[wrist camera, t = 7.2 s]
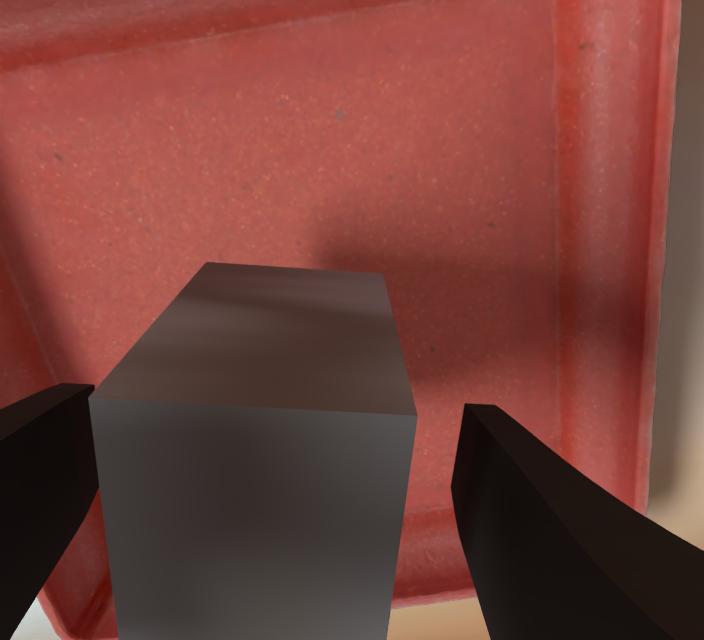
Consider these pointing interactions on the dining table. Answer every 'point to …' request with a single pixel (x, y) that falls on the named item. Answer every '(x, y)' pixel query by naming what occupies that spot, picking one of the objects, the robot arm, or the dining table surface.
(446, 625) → the dining table surface
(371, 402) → the charcoal block
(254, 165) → the plant saucer
